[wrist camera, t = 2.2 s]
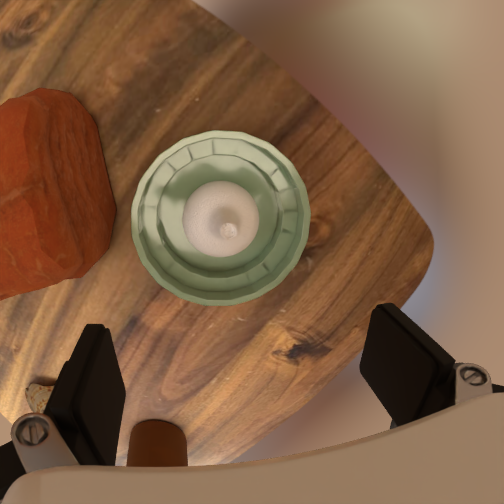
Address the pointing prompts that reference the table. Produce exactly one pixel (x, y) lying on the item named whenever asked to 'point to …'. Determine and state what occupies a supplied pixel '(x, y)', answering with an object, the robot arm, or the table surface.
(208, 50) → the table surface
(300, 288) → the table surface
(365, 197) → the table surface
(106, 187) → the bread
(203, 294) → the bowl
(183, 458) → the mug
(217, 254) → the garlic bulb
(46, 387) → the seashell
